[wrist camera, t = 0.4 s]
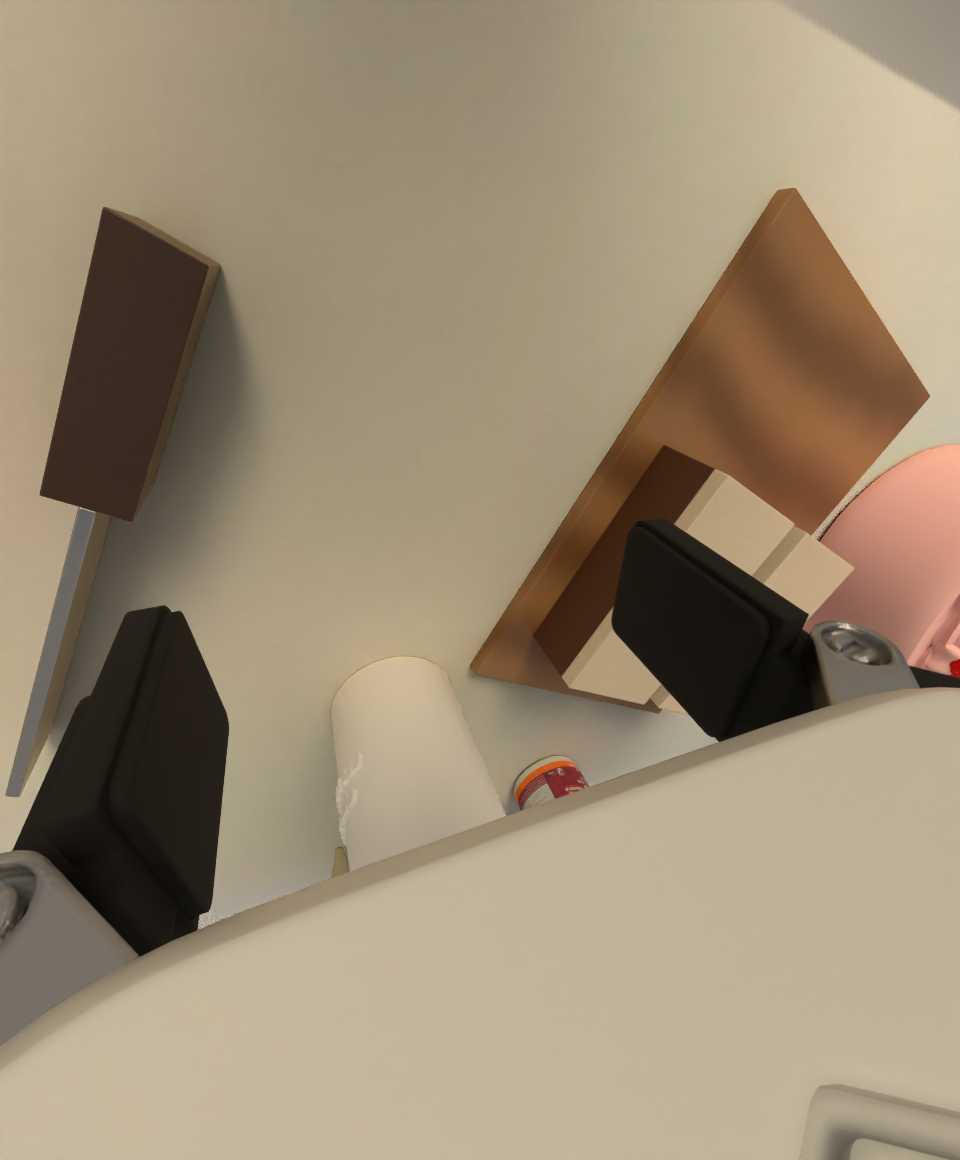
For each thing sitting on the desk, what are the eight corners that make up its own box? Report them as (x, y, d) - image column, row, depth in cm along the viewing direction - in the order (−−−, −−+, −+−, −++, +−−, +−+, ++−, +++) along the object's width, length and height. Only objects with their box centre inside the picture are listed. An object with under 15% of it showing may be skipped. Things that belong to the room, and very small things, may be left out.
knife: (136, 216, 16) (102, 205, 13) (221, 265, 17) (209, 266, 14) (12, 725, 24) (-28, 796, 21) (77, 731, 25) (49, 798, 22)
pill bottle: (586, 757, 44) (664, 883, 35) (546, 801, 46) (612, 931, 37) (538, 748, 41) (613, 884, 32) (498, 796, 42) (557, 938, 33)
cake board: (777, 189, 23) (795, 186, 22) (915, 393, 33) (930, 396, 32) (470, 664, 32) (475, 674, 32) (651, 705, 43) (658, 713, 42)
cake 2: (741, 499, 31) (807, 533, 28) (790, 534, 35) (855, 568, 31) (616, 659, 36) (658, 708, 32) (672, 675, 40) (715, 721, 36)
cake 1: (663, 444, 27) (729, 475, 23) (729, 490, 31) (795, 524, 27) (532, 635, 32) (568, 688, 28) (603, 655, 35) (644, 705, 31)
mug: (338, 791, 35) (361, 988, 25) (319, 668, 28) (341, 871, 19) (447, 763, 37) (505, 932, 28) (452, 645, 31) (530, 813, 22)
